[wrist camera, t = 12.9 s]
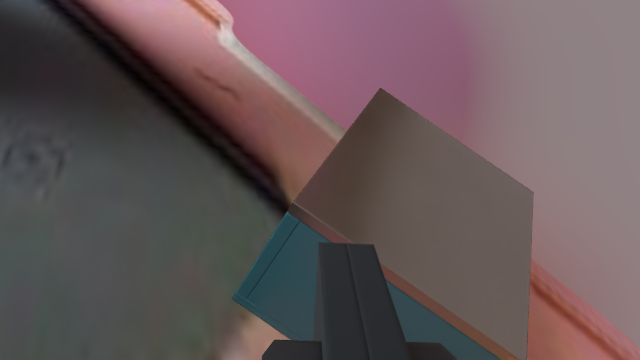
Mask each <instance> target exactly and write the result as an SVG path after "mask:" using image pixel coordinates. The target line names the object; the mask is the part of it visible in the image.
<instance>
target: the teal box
mask: <svg viewBox="0 0 640 360" xmlns="http://www.w3.org/2000/svg"><path fill="white" fill-rule="evenodd" d="M319 242H325V243H332V242H330V241H329V240H328V239H326V238H325V237H323V236H322V235H320V234H319V233H317V232H316V231H315V230H313V229H312V228H310V227H309V226H307V225H306V224H304V223H303V222H302V221H300V220H299V219H297V218H296V217H294V216H293V215H291V214H290V213H289V212H288V211H287V213H286V214H285V216H284V217H283V219H282V220H281V222H280V224H279V225H278V227H277V228H276V230H275V231H274V233H273V235H272V236H271V238H270V239H269V241H268V242H267V244H266V246H265V247H264V249H263V250H262V252H261V253H260V255H259V257H258V258H257V260H256V261H255V263H254V264H253V266H252V268H251V269H250V271H249V272H248V274H247V275H246V277H245V279H244V280H243V282H242V283H241V285H240V287H239V288H238V290H237V291H236V293H235V294H234V296H233V298H232V299H233V300H235V301H236V302H238V303H239V304H240V305H242V306H243V307H245V308H246V309H248V310H249V311H250V312H252V313H253V314H255V315H256V316H258V317H259V318H260V319H262V320H263V321H265V322H266V323H268V324H269V325H271V326H272V327H273V328H275V329H276V330H278V331H279V332H281V333H282V334H283V335H285V336H286V337H288V338H289V339H291V340H300V341H314V331H313V329H314V312H315V296H316V279H317V262H318V246H319ZM386 283H387V286H388V289H389V292H390V295H391V298H392V301H393V304H394V307H395V310H396V313H397V316H398V319H399V322H400V325H401V328H402V331H403V334H404V337H405V340H406V342H426V343H441V344H442V345H443V346H444V347H445V348H446V349H447V350H448V351H449V352H450V353H451V354H452V355H453V356H455V357H456V358H457V360H501V359H499V358H498V357H497V356H495V355H494V354H492V353H491V352H489V351H488V350H486V349H485V348H484V347H482V346H481V345H479V344H478V343H476V342H475V341H473V340H472V339H471V338H469V337H468V336H466V335H465V334H463V333H462V332H460V331H459V330H458V329H456V328H455V327H453V326H452V325H450V324H449V323H447V322H446V321H445V320H443V319H442V318H440V317H439V316H437V315H436V314H434V313H433V312H432V311H430V310H429V309H427V308H426V307H424V306H423V305H421V304H420V303H419V302H417V301H416V300H414V299H413V298H411V297H410V296H408V295H407V294H406V293H404V292H403V291H401V290H400V289H398V288H397V287H395V286H394V285H393V284H391V283H390V282H388V281H387V280H386Z"/></svg>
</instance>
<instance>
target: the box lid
mask: <svg viewBox="0 0 640 360" xmlns="http://www.w3.org/2000/svg"><path fill="white" fill-rule="evenodd" d="M533 194H534V192H532V191H531V190H530V189H528V188H527V187H525V186H524V185H522V184H521V183H519V182H518V181H517V180H515V179H513V178H512V177H511V176H509V175H508V174H506V173H505V172H503V171H502V170H500V169H499V168H497V167H496V166H495V165H493V164H492V163H490V162H489V161H487V160H486V159H484V158H483V157H481V156H480V155H478V154H477V153H475V152H474V151H473V150H471V149H469V148H468V147H467V146H465V145H464V144H462V143H461V142H459V141H458V140H456V139H455V138H453V137H452V136H450V135H449V134H447V133H446V132H445V131H443V130H442V129H440V128H439V127H437V126H436V125H434V124H433V123H431V122H430V121H428V120H427V119H426V118H424V117H423V116H421V115H420V114H418V113H417V112H415V111H414V110H412V109H411V108H409V107H408V106H406V105H405V104H403V103H402V102H401V101H399V100H398V99H396V98H395V97H393V96H392V95H390V94H389V93H387V92H386V91H384V90H383V89H382V88H380V89H379V90H378V92H377V93H376V94H375V95H374V97H373V98H372V99H371V101H370V102H369V103H368V105H367V106H366V107H365V109H364V110H363V111H362V113H361V114H360V115H359V116H358V118H357V119H356V120H355V122H354V123H353V124H352V126H351V127H350V128H349V129H348V131H347V132H346V133H345V135H344V136H343V137H342V139H341V140H340V141H339V143H338V144H337V145H336V147H335V148H334V149H333V150H332V152H331V153H330V154H329V156H328V157H327V158H326V160H325V161H324V162H323V164H322V165H321V166H320V168H319V169H318V170H317V171H316V173H315V174H314V175H313V177H312V178H311V179H310V181H309V182H308V183H307V185H306V186H305V187H304V189H303V190H302V191H301V192H300V194H299V195H298V196H297V198H296V199H295V200H294V202H293V203H292V205H291V206H290V208H289V209H288V212H289V213H290V214H291V215H293V216H294V217H296V218H297V219H299V220H300V221H302V222H303V223H304V224H306V225H307V226H309V227H310V228H312V229H313V230H315V231H316V232H317V233H319V234H320V235H322V236H323V237H325V238H326V239H328V240H329V241H330V242H332V243H351V244H374V247H375V250H376V253H377V256H378V259H379V262H380V265H381V268H382V271H383V274H384V277H385V280H387V281H388V282H390V283H391V284H393V285H394V286H395V287H397V288H398V289H400V290H401V291H403V292H404V293H406V294H407V295H408V296H410V297H411V298H413V299H414V300H416V301H417V302H419V303H420V304H421V305H423V306H424V307H426V308H427V309H429V310H430V311H432V312H433V313H434V314H436V315H437V316H439V317H440V318H442V319H443V320H445V321H446V322H447V323H449V324H450V325H452V326H453V327H455V328H456V329H458V330H459V331H460V332H462V333H463V334H465V335H466V336H468V337H469V338H471V339H472V340H473V341H475V342H476V343H478V344H479V345H481V346H482V347H484V348H485V349H486V350H488V351H489V352H491V353H492V354H494V355H495V356H497V357H498V358H499V359H501V360H527V337H528V313H529V289H530V265H531V242H532V217H533Z"/></svg>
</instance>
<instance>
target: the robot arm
mask: <svg viewBox="0 0 640 360" xmlns="http://www.w3.org/2000/svg"><path fill="white" fill-rule="evenodd" d="M313 331H314V341H300V340H274V341H273V342H272V344H271V345H270V346H269V347H268V349H267V350H266V351H265V353H264V354H263V355H262V360H457V358H456V357H455V356H453V355H452V354H451V353H450V352H449V351H448V350H447V349H446V348H445V347H444V346H443V345H442V344H441V343H426V342H406V340H405V337H404V334H403V331H402V328H401V325H400V322H399V319H398V316H397V313H396V310H395V307H394V304H393V301H392V298H391V295H390V292H389V289H388V286H387V283H386V280H385V277H384V274H383V271H382V268H381V265H380V262H379V259H378V256H377V253H376V250H375V247H374V244H351V243H325V242H319V246H318V262H317V279H316V296H315V312H314V329H313Z"/></svg>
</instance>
